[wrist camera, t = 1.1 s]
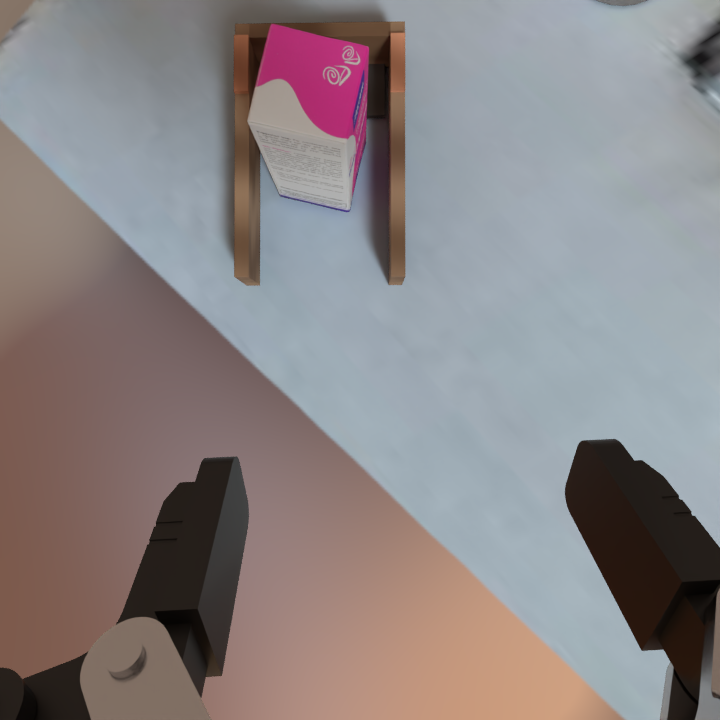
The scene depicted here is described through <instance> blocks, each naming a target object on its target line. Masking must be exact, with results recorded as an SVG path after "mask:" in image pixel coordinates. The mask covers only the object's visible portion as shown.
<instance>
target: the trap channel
mask: <svg viewBox="0 0 720 720" xmlns="http://www.w3.org/2000/svg"><path fill="white" fill-rule="evenodd" d="M271 24H276V25H281V26H285V27H288V28H292V29H296V30H300V31H304V32H308V33H312V34H316V35H320V36H324V37H329V38H333V39H338V40H343V41H348V42H352V43H356V44H361V45H364V46H368V47H369V62H368V90H367V118H385V67H388V107H389V285H402V283H403V281H404V278H405V22H337V23H262V24H235V35H234V93H235V239H234V277H235V278H237V279H238V280H240V281H241V282H243V283H244V284H246V285H260V149H259V147H258V144H257V142H256V140H255V138H254V135H253V133H252V131H251V129H250V126H249V124H248V122H247V120H248V115H249V110H250V107H251V102H252V98H253V93H254V89H255V85H256V80H257V76H258V72H259V68H260V63H261V59H262V56H263V52H264V47H265V43H266V40H267V36H268V32H269V28H270V25H271Z"/></svg>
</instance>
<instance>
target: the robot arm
mask: <svg viewBox="0 0 720 720" xmlns="http://www.w3.org/2000/svg"><path fill="white" fill-rule="evenodd" d="M597 1H599V2H602V3H606V4H609V5H617V6H627V5H635V4H638V3H641V2H644V1H647V0H597ZM565 497H566V503H567V507H568V509H569V512H570V514H571V516H572V518H573V520H574V522H575V523H576V525H577V527H578V529H579V531H580V533H581V535H582V537H583V539H584V541H585V543H586V545H587V547H588V548H589V550H590V552H591V554H592V556H593V558H594V560H595V562H596V564H597V566H598V568H599V570H600V571H601V573H602V575H603V577H604V579H605V581H606V583H607V585H608V587H609V589H610V591H611V593H612V595H613V596H614V598H615V600H616V602H617V604H618V606H619V608H620V610H621V612H622V614H623V616H624V618H625V619H626V621H627V623H628V625H629V627H630V629H631V631H632V633H633V635H634V637H635V639H636V641H637V643H638V644H639V646H640V648H641V650H642V651H646V650H662V649H664V651H665V653H666V654H667V656H668V658H669V660H670V664H669V665H668V667H667V671H666V678H665V685H664V692H663V700H662V707H661V715H660V720H720V547H719V546H718V545H717V544H716V542H715V541H714V540H713V539H712V537H711V536H710V535H709V533H708V532H707V531H706V530H705V528H704V527H703V526H702V525H701V523H700V522H699V521H698V519H697V518H696V517H695V516H692V514H691V511H690V509H689V508H688V507H687V505H686V504H685V503H684V502H683V500H680V499H679V495H678V494H677V493H676V491H675V490H674V489H673V488H672V486H671V485H670V484H669V483H668V481H667V480H666V479H665V478H664V476H662V475H661V474H660V473H658V472H657V471H656V470H654V469H653V468H652V467H650V466H649V465H648V464H646V463H645V462H643V461H642V460H638V461H634V460H633V458H632V457H631V456H630V454H629V453H628V452H627V450H626V449H625V448H624V446H623V445H622V444H621V443H620V442H619V441H618V440H616V439H605V440H584V441H581V442H580V443H579V445H578V447H577V450H576V453H575V456H574V460H573V463H572V466H571V469H570V473H569V476H568V479H567V482H566V487H565ZM248 519H249V509H248V500H247V495H246V490H245V486H244V481H243V476H242V472H241V466H240V462H239V459H238V457H217V458H204V459H203V461H202V462H201V465H200V468H199V471H198V474H197V478H196V481H195V482H183V483H179V484H178V485H177V487H176V488H175V489H174V490H173V491H172V492H171V494H170V495H169V496H168V497H167V498H166V499H165V500H164V502H163V505H162V507H161V510H160V513H159V516H158V518H157V521H156V527H154V529H153V532H152V534H151V537H150V543H149V545H147V548H146V550H145V554H144V556H143V559H142V561H141V564H140V567H139V569H138V572H137V574H136V577H135V580H134V583H133V585H132V588H131V591H130V593H129V596H128V599H127V601H126V604H125V607H124V609H123V612H122V614H121V616H120V618H119V620H118V622H117V624H116V625H115V626H113V627H112V628H110V629H109V630H108V631H106V632H105V633H104V634H103V635H102V636H101V637H100V638H99V639H98V640H97V641H96V642H95V643H94V644H93V646H92V648H91V649H90V650H89V651H88V652H87V653H85V654H83V655H82V656H80V657H78V658H76V659H73V660H71V661H69V662H66V663H63V664H61V665H58V666H56V667H53V668H50V669H48V670H45V671H42V672H40V673H37V674H35V675H32V676H29V677H27V678H24V679H22V678H21V677H20V676H19V675H18V674H17V673H16V672H15V671H13V670H11V669H7V668H0V720H211V718H210V716H209V714H208V712H207V710H206V708H205V706H204V704H203V702H202V700H201V697H202V692H203V687H204V682H205V677H212V676H222V672H223V666H224V661H225V655H226V649H227V644H228V638H229V632H230V626H231V621H232V615H233V609H234V603H235V597H236V592H237V586H238V581H239V575H240V569H241V564H242V557H243V552H244V546H245V540H246V535H247V529H248Z"/></svg>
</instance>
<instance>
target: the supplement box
mask: <svg viewBox="0 0 720 720" xmlns="http://www.w3.org/2000/svg"><path fill="white" fill-rule="evenodd" d="M368 62H369V47H368V46H364V45H361V44H356V43H352V42H348V41H343V40H338V39H333V38H329V37H324V36H320V35H316V34H312V33H308V32H304V31H300V30H296V29H292V28H288V27H285V26H281V25H276V24H271V25H270V28H269V32H268V36H267V40H266V43H265V47H264V52H263V56H262V59H261V63H260V68H259V72H258V76H257V80H256V85H255V89H254V93H253V98H252V102H251V107H250V110H249V115H248V120H247V122H248V124H249V126H250V129H251V131H252V133H253V135H254V138H255V140H256V142H257V144H258V147H259V149H260V151H261V154H262V156H263V158H264V160H265V162H266V165H267V167H268V169H269V172H270V174H271V176H272V178H273V181H274V183H275V185H276V187H277V190H278V192H279V195H280V196H281V197H285V198H288V199H293V200H298V201H302V202H306V203H311V204H315V205H319V206H323V207H327V208H331V209H335V210H340V211H344V212H349V211H350V208H351V203H352V197H353V192H354V188H355V183H356V179H357V175H358V171H359V166H360V162H361V158H362V155H363V152H364V148H365V144H366V120H367V90H368Z"/></svg>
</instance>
